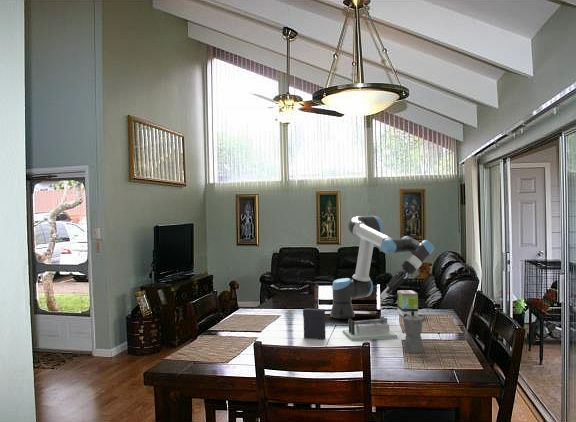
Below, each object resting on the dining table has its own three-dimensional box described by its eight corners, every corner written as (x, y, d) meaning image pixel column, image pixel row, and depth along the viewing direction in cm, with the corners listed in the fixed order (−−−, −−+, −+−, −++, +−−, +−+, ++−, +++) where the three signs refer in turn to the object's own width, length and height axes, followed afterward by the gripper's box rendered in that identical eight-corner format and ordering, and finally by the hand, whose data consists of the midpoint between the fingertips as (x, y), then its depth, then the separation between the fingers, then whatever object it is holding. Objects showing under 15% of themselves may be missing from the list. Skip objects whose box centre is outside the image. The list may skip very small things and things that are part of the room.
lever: (383, 321, 260) (383, 318, 260) (385, 322, 257) (385, 319, 257) (351, 323, 257) (351, 320, 257) (352, 325, 254) (352, 321, 254)
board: (385, 330, 268) (385, 327, 268) (397, 338, 250) (397, 335, 250) (342, 332, 264) (342, 329, 264) (351, 340, 246) (351, 337, 246)
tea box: (418, 317, 301) (418, 293, 301) (402, 317, 301) (401, 293, 301) (412, 312, 316) (412, 289, 316) (397, 312, 316) (396, 289, 316)
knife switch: (381, 328, 264) (381, 315, 264) (389, 334, 252) (389, 319, 252) (347, 330, 261) (346, 316, 261) (353, 336, 249) (353, 321, 250)
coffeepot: (430, 353, 220) (429, 313, 221) (411, 355, 218) (409, 314, 218) (413, 345, 235) (412, 307, 236) (395, 346, 233) (394, 308, 233)
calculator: (326, 338, 253) (325, 309, 253) (323, 340, 249) (322, 310, 249) (306, 336, 257) (305, 307, 258) (303, 338, 253) (302, 309, 254)
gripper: (421, 270, 255) (391, 304, 252) (411, 268, 268) (382, 300, 265) (411, 261, 254) (381, 294, 251) (401, 259, 267) (373, 290, 264)
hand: (381, 297), depth 258 cm, fingers closed
